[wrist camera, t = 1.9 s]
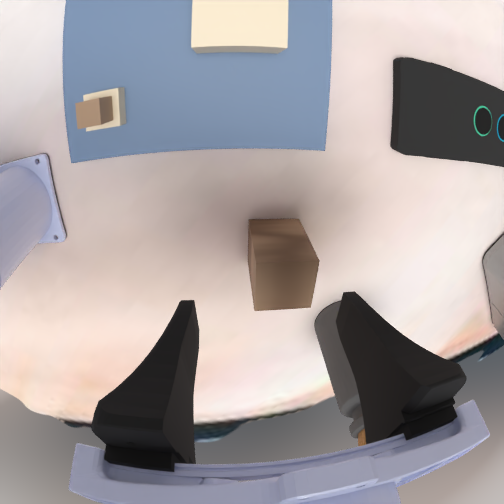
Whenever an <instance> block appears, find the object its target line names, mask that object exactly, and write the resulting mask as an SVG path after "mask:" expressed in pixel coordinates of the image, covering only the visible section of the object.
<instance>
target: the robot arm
mask: <svg viewBox="0 0 504 504" xmlns="http://www.w3.org/2000/svg"><path fill="white" fill-rule="evenodd" d="M37 159H39V163H38V161H37ZM55 235H57V236H58V238H57V237H56V236H55ZM65 239H66V233H65V230H64V226H63V223H62V219H61V215H60V211H59V207H58V203H57V199H56V195H55V190H54V186H53V181H52V176H51V171H50V166H49V160H48V156H47V155H46V154H39V155H35V156H31V157H27V158H23V159H20V160H16V161H12V162H9V163H6V164H2V165H0V289H1V288H2V287H3V285H4V284H5V282H6V281H7V280H8V278H9V277H10V276H11V275H12V273H13V272H14V271H15V269H16V268H17V267H18V266H19V264H20V263H21V262H22V261H23V259H24V258H25V257H26V256H27V255H28V253H29V252H30V251H31V250H32V249H33V247H34V246H35V245H36V244H37V243H53V242H63V241H64V240H65ZM336 325H337V330H338V334H339V338H340V341H341V343H342V346H343V349H344V351H345V354H346V356H347V359H348V362H349V364H350V367H351V369H352V372H353V375H354V378H355V381H356V385H357V389H358V393H359V398H360V403H361V408H362V414H363V421H364V428H365V438H366V445H363V446H359V447H355V448H350V449H346V450H342V451H338V452H332V453H327V454H323V455H317V456H311V457H304V458H298V459H291V460H283V461H273V462H262V463H247V464H196V462H195V448H194V420H193V394H194V383H195V375H196V367H197V359H198V351H199V326H198V320H197V314H196V308H195V302H194V300H182V301H180V302H179V305H178V307H177V309H176V311H175V313H174V315H173V317H172V319H171V320H170V322H169V324H168V326H167V327H166V329H165V331H164V332H163V334H162V336H161V337H160V339H159V340H158V342H157V343H156V345H155V346H154V347H153V349H152V350H151V352H150V353H149V354H148V355H147V357H146V358H145V359H144V360H143V362H142V363H141V364H140V365H139V366H138V367H137V368H136V369H135V371H134V372H133V373H132V374H131V375H130V376H129V377H128V378H126V379H125V380H124V381H123V382H122V383H121V384H120V385H119V386H118V387H117V388H115V389H114V390H113V391H112V392H110V393H109V394H108V395H106V396H105V397H104V398H102V399H101V400H100V401H99V402H98V405H97V407H96V410H95V413H94V417H93V421H92V426H91V428H92V431H93V432H94V433H95V435H96V436H98V437H99V438H100V439H101V440H102V441H103V442H104V443H105V444H106V449H105V450H103V449H101V448H98V447H93V446H89V445H84V444H80V443H77V444H76V448H75V453H74V459H73V464H72V470H71V476H70V483H69V490H70V491H72V492H74V493H76V494H78V495H81V496H83V497H85V498H88V499H90V500H93V501H96V502H100V503H104V504H401V502H400V498H399V494H398V491H397V487H398V486H401V485H403V484H405V483H408V482H410V481H412V480H415V479H417V478H419V477H421V476H424V475H426V474H428V473H430V472H432V471H434V470H436V469H438V468H440V467H442V466H444V465H445V464H447V463H449V462H451V461H453V460H455V459H457V458H459V457H460V456H462V455H464V454H465V453H467V452H468V451H470V450H471V449H473V448H474V447H476V446H477V445H478V444H480V443H481V442H482V441H484V440H485V439H486V438H488V437H489V436H490V433H489V431H488V429H487V427H486V424H485V422H484V420H483V418H482V416H481V414H480V411H479V410H478V407H477V405H476V403H475V401H474V400H471V401H469V402H467V403H465V404H463V405H461V406H459V407H457V408H456V409H454V407H453V404H455V401H454V399H453V397H454V396H455V394H456V393H457V392H458V391H459V390H460V389H461V388H462V386H463V385H464V384H465V382H466V376H465V374H464V372H463V370H462V368H461V367H460V365H459V364H457V363H454V362H452V361H449V360H447V359H444V358H442V357H440V356H438V355H435V354H433V353H431V352H430V351H428V350H426V349H424V348H422V347H421V346H419V345H417V344H416V343H414V342H413V341H411V340H410V339H408V338H407V337H406V336H404V335H403V334H401V333H400V332H399V331H398V330H396V329H395V328H394V327H393V326H391V325H390V324H389V323H388V322H387V321H386V320H384V319H383V318H382V317H381V316H380V315H379V314H378V313H377V312H376V311H375V310H374V309H373V308H371V307H370V306H369V305H368V304H367V303H366V302H365V301H364V300H363V299H362V298H361V297H360V296H359V295H358V294H357V293H356V292H343V296H342V300H341V304H340V307H339V311H338V315H337V318H336ZM258 479H261V480H258ZM239 480H253V481H245V482H239Z"/></svg>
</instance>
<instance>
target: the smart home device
mask: <svg viewBox="0 0 504 504" xmlns="http://www.w3.org/2000/svg"><path fill="white" fill-rule="evenodd" d="M391 148H392V149H394V150H396V151H398V152H400V153H402V154H405V155H411V156H424V157H429V158H439V159H449V160H458V161H469V162H476V163H483V164H489V165H495V166H501V167H504V91H502V90H500V89H498V88H496V87H494V86H491V85H489V84H487V83H485V82H482V81H480V80H477V79H475V78H472V77H470V76H467V75H465V74H462V73H459V72H456V71H453V70H452V69H450V68H447V67H444V66H441V65H437V64H434V63H428V62H425V61H421V60H418V59H414V58H396V59H394V60H393V114H392V131H391Z"/></svg>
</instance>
